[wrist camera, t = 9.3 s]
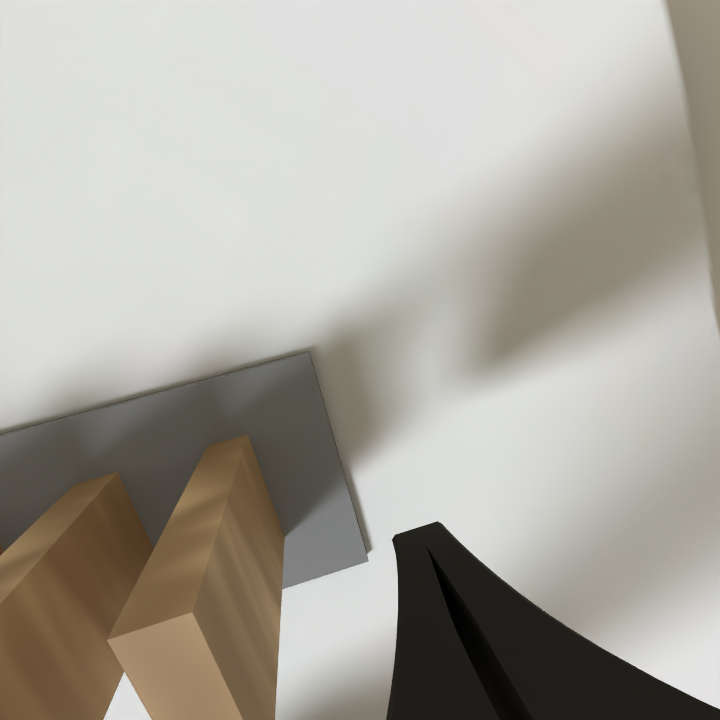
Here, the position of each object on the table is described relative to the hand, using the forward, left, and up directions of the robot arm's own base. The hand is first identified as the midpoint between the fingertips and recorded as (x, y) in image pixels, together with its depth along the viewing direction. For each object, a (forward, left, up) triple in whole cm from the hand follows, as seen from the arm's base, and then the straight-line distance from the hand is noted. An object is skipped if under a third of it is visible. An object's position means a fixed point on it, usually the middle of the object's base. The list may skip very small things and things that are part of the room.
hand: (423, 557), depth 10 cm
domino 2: (0, +6, -6) cm, 8 cm away
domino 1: (0, +11, -6) cm, 12 cm away
